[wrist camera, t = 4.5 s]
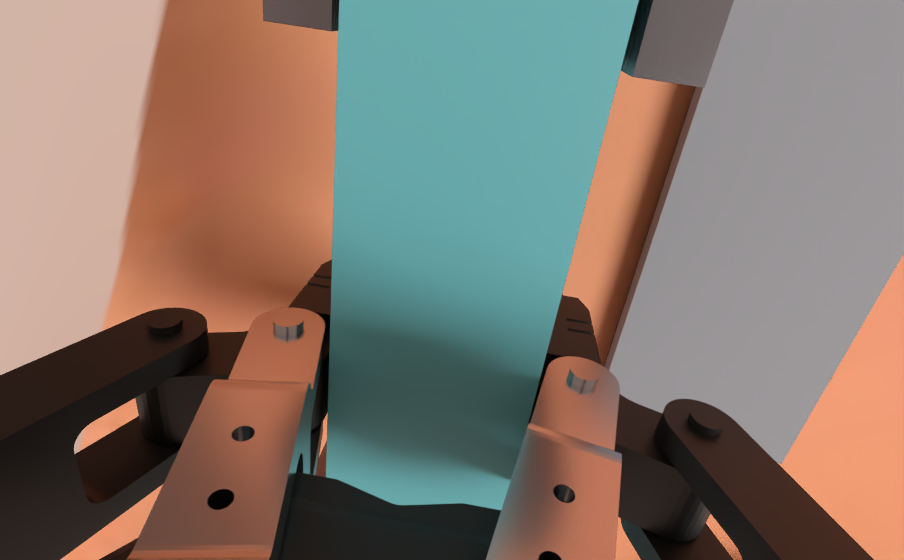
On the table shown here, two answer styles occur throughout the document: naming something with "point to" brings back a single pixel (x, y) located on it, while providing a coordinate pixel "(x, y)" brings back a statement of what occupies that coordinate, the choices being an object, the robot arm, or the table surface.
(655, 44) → the bracket stand
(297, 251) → the table surface
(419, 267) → the rail bar
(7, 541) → the robot arm
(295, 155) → the table surface
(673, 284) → the rubber mat
